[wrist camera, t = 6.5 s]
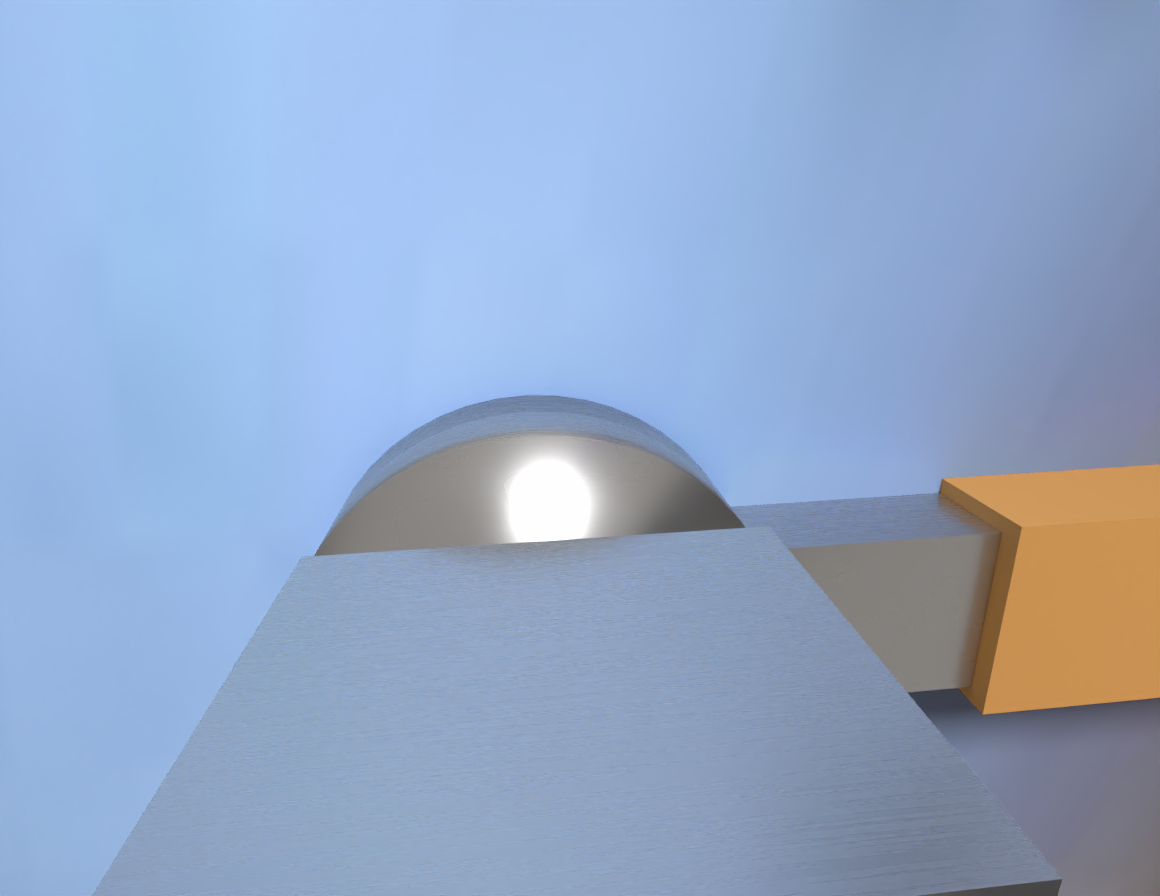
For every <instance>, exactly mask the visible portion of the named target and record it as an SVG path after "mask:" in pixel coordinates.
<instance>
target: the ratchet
mask: <svg viewBox="0 0 1160 896" xmlns="http://www.w3.org/2000/svg"><path fill="white" fill-rule="evenodd" d="M765 526H769V527H770V528H771V529H772V530H773V531H774V533H775V534H776V535H777V536H778V537H779V539H780V540H781V541H782V542H783V543H784V545H785V546H786V547H787V548H788V549H789V551H790V552H791V553H792V554H793V556H794V557H795V558H796V559H797V560H798V562H799V563H800V564H801V565H802V566H803V568H804V569H805V570H806V571H807V572H808V574H809V575H810V576H811V577H812V578H813V580H814V581H815V582H816V583H817V584H818V586H819V587H820V588H821V589H822V590H823V592H824V593H825V594H826V595H827V596H828V598H829V599H830V600H831V601H832V602H833V604H834V605H835V606H836V607H837V608H838V610H839V611H840V612H841V613H842V615H843V616H844V617H845V618H846V619H847V621H848V622H849V623H850V624H851V625H852V627H853V628H854V629H855V630H856V631H857V633H858V634H859V635H860V636H861V637H862V639H863V640H864V641H865V642H866V643H867V645H868V646H869V647H870V648H871V649H872V651H873V652H874V653H875V654H876V655H877V657H878V658H879V659H880V660H881V661H882V663H883V664H884V665H885V666H886V667H887V669H888V670H889V671H890V672H891V674H892V675H893V676H894V677H895V678H896V680H897V681H898V682H899V683H900V684H901V686H902V687H903V688H904V689H905V690H906V692H907V693H908V692H919V691H930V690H941V689H951V688H958V689H959V690H960V691H961V692H962V693H963V694H964V695H965V696H966V697H967V699H968V700H969V701H970V702H971V703H972V704H973V705H974V706H975V707H976V708H977V709H978V710H979V711H980V712H981V713H982V714H983V715H984V714H994V713H1005V712H1015V711H1025V710H1036V709H1046V708H1057V707H1067V706H1077V705H1088V704H1098V703H1109V702H1119V701H1129V700H1140V699H1150V698H1160V465H1146V466H1130V467H1115V468H1100V469H1084V470H1069V471H1053V472H1038V473H1023V474H1007V475H992V476H977V477H961V478H946V479H942V484H941V491H940V493H931V494H916V495H901V496H886V497H871V498H856V499H842V500H827V501H812V502H797V503H782V504H767V505H752V506H737V507H730V506H729V505H728V503H727V502H726V501H725V499H724V498H723V497H722V495H721V494H720V493H719V491H718V490H717V489H716V487H715V486H714V485H713V484H712V482H711V481H710V480H709V478H708V477H707V476H706V474H705V473H704V472H703V470H702V469H701V468H700V467H699V466H698V465H697V463H696V462H695V461H694V460H693V459H692V458H691V457H690V456H689V455H688V454H687V453H686V452H685V451H684V450H683V449H682V448H681V447H680V446H678V445H677V444H676V443H675V442H673V441H672V440H671V439H670V438H668V437H667V436H666V435H665V434H663V433H662V432H660V431H659V430H657V429H655V428H654V427H652V426H650V425H649V424H647V423H645V422H644V421H642V420H640V419H638V418H636V417H634V416H631V415H629V414H627V413H624V412H622V411H620V410H617V409H615V408H612V407H609V406H605V405H601V404H598V403H594V402H591V401H587V400H582V399H575V398H568V397H560V396H527V395H526V396H517V397H508V398H500V399H494V400H490V401H486V402H482V403H478V404H473V405H469V406H466V407H463V408H461V409H458V410H456V411H453V412H450V413H448V414H445V415H443V416H440V417H438V418H436V419H434V420H432V421H431V422H429V423H427V424H425V425H423V426H421V427H420V428H418V429H416V430H414V431H413V432H411V433H410V434H408V435H407V436H406V437H404V438H403V439H402V440H400V441H399V442H398V443H396V444H395V445H393V446H392V447H391V448H390V449H388V450H387V451H386V452H385V453H384V454H383V455H382V456H381V457H380V458H379V459H378V460H377V461H376V462H375V463H374V464H373V465H372V466H371V467H370V468H369V469H368V471H367V472H366V473H365V474H364V476H363V477H362V478H361V480H360V481H359V482H358V483H357V485H356V486H355V487H354V489H353V490H352V492H351V494H350V495H349V497H348V499H347V500H346V502H345V504H344V506H343V507H342V509H341V511H340V512H339V514H338V516H337V518H336V519H335V521H334V523H333V525H332V526H331V528H330V530H329V531H328V533H327V535H326V537H325V538H324V540H323V542H322V543H321V545H320V547H319V549H318V550H317V552H316V554H315V556H323V555H338V554H353V553H368V552H384V551H399V550H414V549H430V548H445V547H460V546H475V545H491V544H506V543H521V542H536V541H552V540H567V539H582V538H597V537H613V536H628V535H643V534H658V533H674V532H689V531H704V530H720V529H735V528H750V527H765Z"/></svg>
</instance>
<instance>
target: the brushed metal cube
mask: <svg viewBox="0 0 1160 896" xmlns="http://www.w3.org/2000/svg"><path fill="white" fill-rule="evenodd" d="M1061 881H1062V878H1061V877H1060V876H1059V875H1058V873H1057V872H1056V871H1055V870H1054V869H1053V867H1052V866H1051V865H1050V864H1049V863H1048V861H1047V860H1046V859H1045V858H1044V857H1043V855H1042V854H1041V853H1040V852H1039V850H1038V849H1037V848H1036V847H1035V846H1034V844H1033V843H1032V842H1031V841H1030V840H1029V838H1028V837H1027V836H1026V835H1025V834H1024V832H1023V831H1022V830H1021V829H1020V828H1019V826H1018V825H1017V824H1016V823H1015V822H1014V820H1013V819H1012V818H1011V817H1010V816H1009V814H1008V813H1007V812H1006V811H1005V810H1004V808H1003V807H1002V806H1001V805H1000V804H999V802H998V801H997V800H996V799H995V798H994V796H993V795H992V794H991V793H990V792H989V790H988V789H987V788H986V787H985V785H984V784H983V783H982V782H981V781H980V779H979V778H978V777H977V776H976V775H975V773H974V772H973V771H972V770H971V769H970V767H969V766H968V765H967V764H966V763H965V761H964V760H963V759H962V758H961V757H960V755H959V754H958V753H957V752H956V751H955V749H954V748H953V747H952V746H951V745H950V743H949V742H948V741H947V740H946V739H945V737H944V736H943V735H942V734H941V733H940V731H939V730H938V729H937V728H936V726H935V725H934V724H933V723H932V722H931V720H930V719H929V718H928V717H927V716H926V714H925V713H924V712H923V711H922V710H921V708H920V707H919V706H918V705H917V704H916V702H915V701H914V700H913V699H912V698H911V696H910V695H909V694H908V693H907V692H906V690H905V689H904V688H903V687H902V686H901V684H900V683H899V682H898V681H897V680H896V678H895V677H894V676H893V675H892V674H891V672H890V671H889V670H888V669H887V667H886V666H885V665H884V664H883V663H882V661H881V660H880V659H879V658H878V657H877V655H876V654H875V653H874V652H873V651H872V649H871V648H870V647H869V646H868V645H867V643H866V642H865V641H864V640H863V639H862V637H861V636H860V635H859V634H858V633H857V631H856V630H855V629H854V628H853V627H852V625H851V624H850V623H849V622H848V621H847V619H846V618H845V617H844V616H843V615H842V613H841V612H840V611H839V610H838V608H837V607H836V606H835V605H834V604H833V602H832V601H831V600H830V599H829V598H828V596H827V595H826V594H825V593H824V592H823V590H822V589H821V588H820V587H819V586H818V584H817V583H816V582H815V581H814V580H813V578H812V577H811V576H810V575H809V574H808V572H807V571H806V570H805V569H804V568H803V566H802V565H801V564H800V563H799V562H798V560H797V559H796V558H795V557H794V556H793V554H792V553H791V552H790V551H789V549H788V548H787V547H786V546H785V545H784V543H783V542H782V541H781V540H780V539H779V537H778V536H777V535H776V534H775V533H774V531H773V530H772V529H771V528H770V527H769V526H765V527H750V528H735V529H720V530H704V531H689V532H674V533H658V534H643V535H628V536H613V537H597V538H582V539H567V540H552V541H536V542H521V543H506V544H491V545H475V546H460V547H445V548H430V549H414V550H399V551H384V552H368V553H353V554H338V555H323V556H307V557H301V559H300V560H299V562H298V564H297V565H296V567H295V568H294V570H293V572H292V573H291V575H290V576H289V578H288V580H287V581H286V583H285V585H284V586H283V588H282V589H281V591H280V593H279V594H278V596H277V597H276V599H275V601H274V602H273V604H272V606H271V607H270V609H269V610H268V612H267V614H266V615H265V617H264V619H263V620H262V622H261V623H260V625H259V627H258V628H257V630H256V631H255V633H254V635H253V636H252V638H251V640H250V641H249V643H248V644H247V646H246V648H245V649H244V651H243V652H242V654H241V656H240V657H239V659H238V661H237V662H236V664H235V665H234V667H233V669H232V670H231V672H230V673H229V675H228V677H227V678H226V680H225V682H224V683H223V685H222V686H221V688H220V690H219V691H218V693H217V694H216V696H215V698H214V699H213V701H212V703H211V704H210V706H209V707H208V709H207V711H206V712H205V714H204V716H203V717H202V719H201V720H200V722H199V724H198V725H197V727H196V728H195V730H194V732H193V733H192V735H191V737H190V738H189V740H188V741H187V743H186V745H185V746H184V748H183V749H182V751H181V753H180V754H179V756H178V758H177V759H176V761H175V762H174V764H173V766H172V767H171V769H170V770H169V772H168V774H167V775H166V777H165V779H164V780H163V782H162V783H161V785H160V787H159V788H158V790H157V792H156V793H155V795H154V796H153V798H152V800H151V801H150V803H149V804H148V806H147V808H146V809H145V811H144V813H143V814H142V816H141V817H140V819H139V821H138V822H137V824H136V825H135V827H134V829H133V830H132V832H131V834H130V835H129V837H128V838H127V840H126V842H125V843H124V845H123V846H122V848H121V850H120V851H119V853H118V855H117V856H116V858H115V859H114V861H113V863H112V864H111V866H110V868H109V869H108V871H107V872H106V874H105V876H104V877H103V879H102V880H101V882H100V884H99V885H98V887H97V889H96V890H95V892H94V893H93V895H92V896H1057V895H1058V891H1059V888H1060V885H1061Z"/></svg>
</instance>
